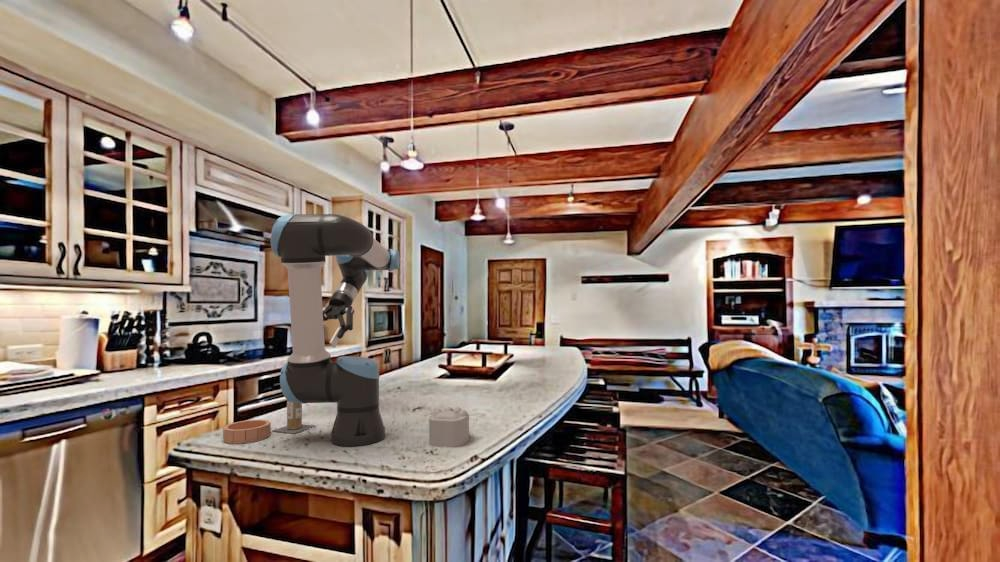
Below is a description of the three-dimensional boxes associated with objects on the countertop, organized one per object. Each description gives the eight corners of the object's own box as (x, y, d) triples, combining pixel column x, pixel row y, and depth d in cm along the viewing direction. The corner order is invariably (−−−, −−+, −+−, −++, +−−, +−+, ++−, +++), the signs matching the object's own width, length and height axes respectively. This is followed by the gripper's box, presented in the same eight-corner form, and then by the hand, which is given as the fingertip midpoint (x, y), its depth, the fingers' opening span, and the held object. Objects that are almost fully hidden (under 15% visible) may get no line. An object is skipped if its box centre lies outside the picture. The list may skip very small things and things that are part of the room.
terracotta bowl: (278, 434, 142) (279, 421, 143) (244, 445, 131) (244, 432, 131) (249, 430, 147) (249, 418, 147) (213, 441, 136) (213, 428, 136)
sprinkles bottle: (303, 428, 147) (303, 385, 148) (287, 430, 145) (287, 386, 145) (300, 425, 151) (300, 383, 152) (285, 427, 149) (285, 384, 149)
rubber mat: (316, 426, 151) (316, 425, 151) (294, 434, 142) (294, 433, 142) (294, 424, 154) (294, 423, 154) (271, 431, 145) (271, 430, 145)
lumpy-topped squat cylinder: (425, 446, 129) (425, 414, 129) (440, 433, 142) (440, 403, 142) (462, 447, 127) (461, 415, 127) (473, 434, 140) (473, 404, 140)
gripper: (377, 305, 171) (351, 352, 156) (319, 305, 179) (291, 350, 164) (368, 290, 166) (341, 338, 151) (309, 291, 174) (279, 336, 159)
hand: (315, 344), depth 158 cm, fingers open, 13 cm apart
